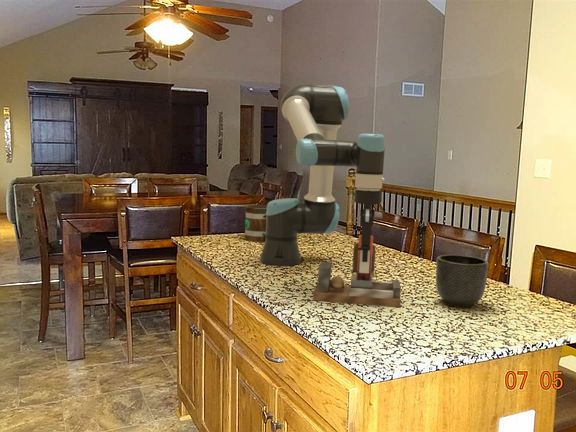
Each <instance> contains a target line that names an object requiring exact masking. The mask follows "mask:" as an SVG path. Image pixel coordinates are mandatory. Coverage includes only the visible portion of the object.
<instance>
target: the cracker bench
mask: <svg viewBox="0 0 576 432" xmlns="http://www.w3.org/2000/svg"><path fill="white" fill-rule="evenodd" d="M317 271H318V274H317V275H318V276H317V284H316V286H315V289H314V291H313V293H312V297H313V298H312V301H318V302H328V303H329V302H331V303H340V304H341V303H343V304H353V305H354V304H355V305H366V306H367V305H369V306H379V307H380V306H381V307H392V308H395V307H396V308H400V307H401V293H402V292H401V291H402V286H401V281H400V280H399V279H392V280H391V281H379V280H373V284H372V289H361V288H351V284H350V285H349V284H344V286H343V287H342V288H341V289H333V288H332V287H331V285H330V281H331V279H332V261H321V262H320V264H319V266H318V270H317Z"/></svg>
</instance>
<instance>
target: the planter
mask: <svg viewBox="0 0 576 432" xmlns="http://www.w3.org/2000/svg"><path fill="white" fill-rule="evenodd" d="M435 266H436V268H435V285H436V291H437V294H438V296H439V297H440V298H441V299H442V300H443V302H444V303H445V305H448V306H452V307H456V308H463V309H465V308H472V307H474V305H476V303H478V302H480V301H481V299H482V298H483V296H484V294H485V289H486V285H487V278H488V272H489V261H488V260H487V259H484V258H480V257H477V256H471V255H465V254H441V255H438V256H437V257H436V263H435Z"/></svg>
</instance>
